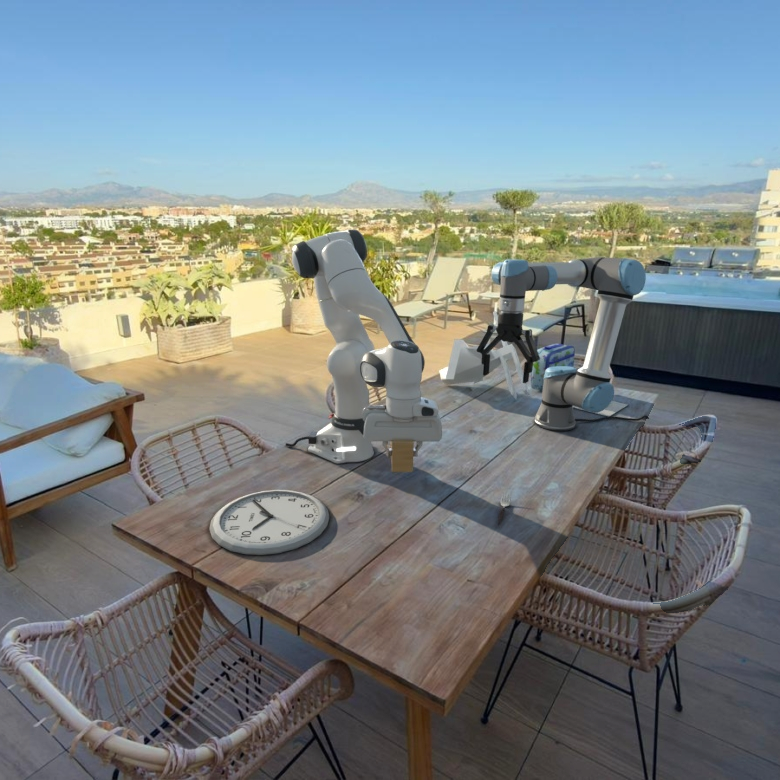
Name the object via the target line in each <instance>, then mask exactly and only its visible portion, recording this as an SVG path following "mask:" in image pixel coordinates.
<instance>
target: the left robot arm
mask: <svg viewBox="0 0 780 780" xmlns="http://www.w3.org/2000/svg"><path fill="white" fill-rule="evenodd" d="M367 246H368V245H367V242H366V240H365V238H364V235H363V234H362V233H361V231H359V230H357V229H345V230H344V231H343V230H342V231H334V232H329V233H328V232H327V233H324V234H323V235H319V236H316V237H313V238H311V239H308V240H302V241H300V242H298V243H295V245H293V247H292V249H291V264H292V266H293V268H294V271H295V272H296V273H297V275H298V276H299V277H301V278H303V279H305V280H306V279H307V280H309V279H313V284H314V285H313V286H314V290H315V295H316V300H317V303H318V305H319V310H320V313H321V316H322V320H323V323H324V326H325V328H326V329H328V330H329V332H330V333H331V335H332V338H333V339H334V341H335V343H336V345H335V346H334V347H333V348H332V349H331V350H330V353H329V354H328V356H327V359H326V367H327V370H328V373H329V374H330V375H331V379H332V384H333V389H334V409H335V411H334V412H332V414H330V415H328V420H330V419H331V422H329V423H328V424H326V425H325V426H324V427H322V428H321V429H319V430H318V431H311V433H310V434H309V435H307V436H302V437H299V438H296V440H295V441H294V442H293V443H285V446H286V447H291V448H292V447H296V445H297V444H298V443H299V442H300V441H301V442H302V441H304V440H308V445H309V446H308V449H307V451H308V452H309V453H312V454H314V455H316V456H318V457H320V458H323V459H324V460H328V461H329V462H332V463H333V464H345V463H358V462H363V461H366V460H369V459H371V458H372V457H374V454H375V452H374V448H373V445H372V442H381V443H382V447H383V449H384V451H386V453H385V454H386V457H387V458H388V457H389V458H390V457H391V456H392V448H391V447H389V446H388V445H389V442H390V441H392V440H413V442H416V446H415V447H414V450H413V458H417V457H418V456H419V451H420V449H421V448H422V447H423V442H427V443H428V442H429V443H430V442H433V443H434V442H435V443H436V442H437V443H438V442H441V440H442V438H443V425H442V420H441V416H440V415H439V406H438V404H437V402H436V401H435V400H433V399H429V398H426V397H422V392H421V382H422V377H423V372H424V369H425V366H426V365H425V364H426V361H425V357H424V353H423V351H422V350H421V349H420V347H419V346H418V345H417V344H416V343H415V342H414V341H413V339H412V337H411V335H410V334H409V332H408V330H407V329H406V326H405V325H404V323H403V321H402V320H401V318H400V316H399V314H398V313H397V311H396V308H395V307H394V305H393V304H392V302H391V301H390V299H389V298H388V297H387V295H385V294H384V293H382V292H381V291H380V290H379V289H378V288H377V287H376V285H375V284H374V283H373V281H372V280H371V278H370V276H369V274H368V271H367V269H366V267H365V265H364V263H365V261H366V259H367V257H368V247H367ZM360 316H363V317H366V318H368V319H370V320H372V321H374V322H375V323H376V324H378V325H379V327H380V329H381V330H382V332H383V334H384V336H385V338H386V339H387V341H388V343H389V344H388V345H387V346H385V347H381V348H378V349H376V348H375V344H374V342H373V341H372V340H371V338H370V337H369V335H368V332H367V330H366V329H365V326H364V324H363V322H362V319H361V317H360ZM368 386H369V387H373V388H384V389H385V390H386V393H385V405H382V404H381V405H373V404H372V405H370V389H369V388H368Z"/></svg>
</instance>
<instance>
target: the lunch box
mask: <svg viewBox="0 0 780 780" xmlns="http://www.w3.org/2000/svg"><path fill="white" fill-rule="evenodd" d="M537 351H538V354H539V357H540V360H538V361H536V362H533V370H532V372H531V373H530V387H531V389H533V390H539V391H542V390H543V380H544V379H543V378H544V374H545V370H546V369H547V368H549V367H555V366H569V367H574V363H575V352H576V351H575V346H573V345H568V344H562V343H553V344H550V345H547V346H546V345H545V346H544V347H541V348H537Z"/></svg>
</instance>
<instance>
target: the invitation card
mask: <svg viewBox="0 0 780 780" xmlns="http://www.w3.org/2000/svg"><path fill="white" fill-rule="evenodd" d="M628 406H629V404H627V403H623V402H618V401H614V400H612V401H611V403H610V404H609V405H608V407H607V408H605V409H604V410H603V411H601V412H597V413H594V412H590V411H587V413H593V414H596V415H600V416H603V417H610V416H613V415H614V414H616V413H617V412H619V411H621V410H623V409H624V408H626V407H628ZM573 409H575V410H581V411H584V412H586V411H585V410H583V409H581V408H579V407H576V406H573Z"/></svg>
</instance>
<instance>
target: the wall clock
mask: <svg viewBox="0 0 780 780" xmlns="http://www.w3.org/2000/svg"><path fill="white" fill-rule="evenodd" d="M329 521H330V514H329V509H328V507H327V506H326V505H325V504H324V503H323V502H322V501H321V500H320V499H318V498H317V497H315V496H313V495H310V494H308V493H304V492H301V491H295V490H291V489H290V490H288V489H272V490H270V489H269V490H262V491H258V492H252V493H249V494H246V495H244V496H240V497H238V498H235V499H234V500H231V501H230V502H229V503H226V504H225V505H224V506H223V507H222V508H221V509H219V510H218V511H216V513H215V514H214V516H213V517H212V518H211V521H210V524H209V533H210V536H211V539H212V540H213V541H214V542H215V543H216V544H217V545H218V546H219V547H222V548H224V549H226V550H228V551H230V552H234V553H237V554H243V555H254V556H266V555H274V554H275V555H276V554H281V553H285V552H289V551H292V550H296V549H298V548H301V547H304V546H305V545H307V544H309V543H311V542H313V541H314V540H316V539H317V538H318V537H319V536H321V535H322V534H323V532H324V531H325V530H326V529H327V527H328V525H329Z"/></svg>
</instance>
